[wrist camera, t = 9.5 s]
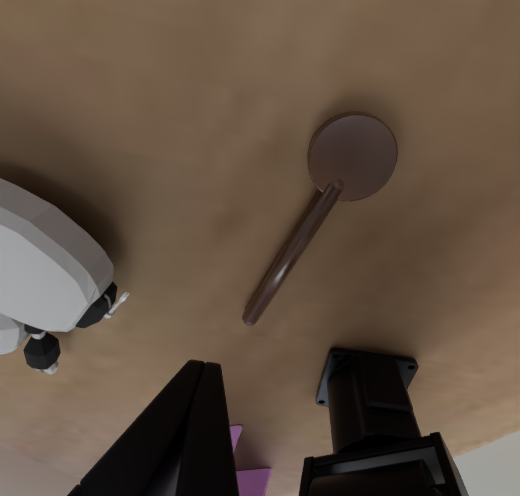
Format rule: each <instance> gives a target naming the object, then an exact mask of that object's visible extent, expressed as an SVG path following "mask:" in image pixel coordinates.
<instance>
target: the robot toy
mask: <svg viewBox="0 0 520 496" xmlns="http://www.w3.org/2000/svg"><path fill="white" fill-rule="evenodd" d="M113 276H114V266H113V264H112V263H111V261H110V259H109V258H108V256H107V254H106V252H105V251H104V250H103V249H102V247H101V246H100V245H99V244H98V243H97V242H96V241H95V240H94V239H93V238H92V237H91V236H90V235H89V234H88V233H87V232H86V231H85V230H84V229H82V228H81V227H80V226H79V225H78V224H76V223H75V222H74V221H73V220H72V219H70V218H69V217H68V216H67V215H66V214H64V213H63V212H62V211H61V210H59V209H58V208H57V207H56V206H54V205H52V204H50V203H49V202H47V201H45V200H43V199H41V198H39V197H37V196H36V195H34V194H32V193H30V192H28V191H26V190H24V189H22V188H21V187H19V186H17V185H15V184H12V183H10V182H8V181H6V180H3V179H1V178H0V354H6V353H10V352H12V351H14V350H16V349H17V347H18V346H19V345H20V344H21V343H22V342H23V341H24V340H25V339H26V338H27V337H28V336H29V335H30V334H32V336H31V338H30V340H29V341H28V343H27V345H26V347H25V348H24V354H25V358H26V362H27V364H28V365H29V366H30V367H32V368H34V369H35V370H37V371H41V372H44V370H45V372H46V373H48V374H51V375H52V374H54V373H55V372H56V371H57V367H58V362H57V359H58V357H59V355H60V347H59V340H58V339H57V338H56V337H54V336H53V335H51V334H50V333H48V332H46V331H60V332H68V331H69V330H71V329H73V328H75V327H80V328H86V327H88V326H90V325H92V324H95V323H97V322H99V321H100V320H101V319H102V318H103V316H104V317H106V318H107V319H109V318H110V317H111V316H112V315H113V313H114V312H115V310H116V308H117V307H118V306H119V305H120V304H121V303H122V302H124V301H125V300H126V298H127V297H128V295H129V293H128V292H126V291H125V292H124V294H123V295H122V296H121V298H120V299H119V300H118V302H117V303H116V304H115V305H114V306H113V307H111V306H112V305H113V303H114V302H115V300H116V292H117V286H116V285H115V284H114V282H113Z"/></svg>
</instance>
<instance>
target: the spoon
mask: <svg viewBox="0 0 520 496" xmlns="http://www.w3.org/2000/svg"><path fill="white" fill-rule="evenodd" d="M397 156H398V149H397V143H396V140H395V137H394V135H393V133H392V131H391V130H390V129H389V127H388V126H387V125H386V124H385V123H384V122H382V121H381V120H380V119H378V118H377V117H375V116H373V115H371V114H368V113H364V112H347V113H343V114H340V115H338V116H335V117H333V118H332V119H330V120H328V121H327V122H326V123H325V124H323V125H322V126H321V127H320V128H319V130H318V131H317V132H316V134H315V135H314V137H313V139H312V141H311V143H310V146H309V150H308V169H309V173H310V176H311V179H312V181H313V183H314V184H315V186H316V187H317V188H318V189H319V192H318V193H317V195H316V197H315V198H314V200H313V201H312V203H311V205H310V206H309V208H308V210H307V211H306V213H305V214H304V216H303V218H302V219H301V221H300V223H299V224H298V226H297V227H296V229H295V231H294V232H293V234H292V236H291V237H290V239H289V240H288V242H287V244H286V245H285V247H284V248H283V250H282V252H281V253H280V255H279V257H278V258H277V260H276V261H275V263H274V265H273V266H272V268H271V270H270V271H269V273H268V274H267V276H266V278H265V279H264V281H263V283H262V284H261V286H260V287H259V289H258V291H257V292H256V294H255V296H254V297H253V299H252V300H251V302H250V304H249V305H248V307H247V309H246V310H245V312H244V313H243V317H242V318H243V321H244V323H245V324H247V325H254V324H255V323H256V322H257V321H258V319H259V318H260V316H261V315H262V313H263V312H264V310H265V309H266V307H267V306H268V304H269V303H270V301H271V299H272V298H273V296H274V295H275V293H276V292H277V290H278V289H279V287H280V286H281V284H282V283H283V281H284V280H285V278H286V277H287V275H288V274H289V272H290V271H291V269H292V268H293V266H294V265H295V263H296V262H297V260H298V259H299V257H300V256H301V254H302V252H303V251H304V249H305V248H306V246H307V245H308V243H309V242H310V240H311V239H312V237H313V236H314V234H315V233H316V231H317V230H318V228H319V227H320V225H321V224H322V222H323V221H324V219H325V218H326V216H327V215H328V213H329V212H330V210H331V209H332V207H333V206H334V204H335V202H336V201H337V200H341V201H355V200H360V199H363V198H366V197H368V196H370V195H372V194H374V193H375V192H377V191H378V190H379V189H381V188H382V187H383V186H384V185H385V184H386V182H387V181H388V180H389V178H390V177H391V175H392V173H393V171H394V169H395V166H396V162H397Z"/></svg>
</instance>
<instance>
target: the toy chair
mask: <svg viewBox="0 0 520 496" xmlns="http://www.w3.org/2000/svg"><path fill="white" fill-rule="evenodd" d="M241 431H242V426H241V425H236V426H230V432H231V439H232V446H233V453H234V452H235V448H236V445H237V442H238V439H239V436H240V433H241ZM236 474H237V481H238V488H239V495H240V496H265V493H266V489H267V485H268V481H269V478H270V474H271V469H270V468H265V469H255V470H245V471H236Z"/></svg>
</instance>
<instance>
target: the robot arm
mask: <svg viewBox="0 0 520 496" xmlns="http://www.w3.org/2000/svg"><path fill="white" fill-rule="evenodd" d="M336 354H337V355H336ZM417 369H418V364H417V362H416V360H415V359H412V358H406V357H399V356H391V355H384V354H377V353H370V352H362V351H355V350H348V349H341V348H333V349H331V350H330V351H329V354H328V357H327V360H326V364H325V367H324V370H323V374H322V377H321V380H320V384H319V387H318V390H317V394H316V403H317V404H318V405H320V406H327V407H329V413H330V424H331V434H332V444H333V454H330V455H325V456H320V457H315V458H314V457H313V456H312V457H307V458H305V459H304V466H303V472H302V477H301V484H300V491H299V496H469V495H468V493H467V490H466V488H465V486H464V483H463V480H462V478H461V475H460V473H459V471H458V468H457V467H456V464H455V462H454V461H453V458H452V456H451V454H450V452H449V450H448V448H447V446H446V444H445V442H444V440H443V438H442V436H441V434H440V432H435V433H430V435H429V436H424V437H422V436H421V433H420V430H419V427H418V424H417V421H416V418H415V415H414V412H413V407H412V404H411V401H410V398H409V395H408V392H407V388H408V386H409V384H410V383H411V381H412V379H413V377H414V375H415V373H416V371H417ZM67 496H240V495H239V488H238V481H237V474H236V467H235V460H234V453H233V446H232V439H231V432H230V425H229V418H228V411H227V404H226V397H225V390H224V383H223V376H222V369H221V365H220V364H219V363H212V362H206V363H204V362H203V361H198V360H189V361H188V362H187V363H186V364H185V365H184V366H183V367H182V368H181V369H180V371H179V372H178V373H177V374H176V375H175V376H174V377H173V378H172V379H171V381H170V382H169V383H168V384H167V385H166V386H165V387H164V388H163V390H162V391H161V392H160V393H159V394H158V395H157V396H156V397H155V398H154V400H153V401H152V402H151V403H150V404H149V405H148V406H147V407H146V408H145V410H144V411H143V412H142V413H141V414H140V415H139V416H138V417H137V418H136V420H135V421H134V422H133V423H132V424H131V425H130V426H129V427H128V429H127V430H126V431H125V432H124V433H123V434H122V435H121V436H120V437H119V439H118V440H117V441H116V442H115V443H114V444H113V445H112V446H111V447H110V449H109V450H108V451H107V452H106V453H105V454H104V455H103V456H102V457H101V459H100V460H99V461H98V462H97V463H96V464H95V465H94V466H93V468H92V469H91V470H90V471H89V472H88V473H87V474H86V475H85V476H84V478H83V479H82V480H81V481H80V485H79V484H78V485H76V486H75V487H74V488H73V490H72V491H71V492H70V493H69V494H68V495H67Z"/></svg>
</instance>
